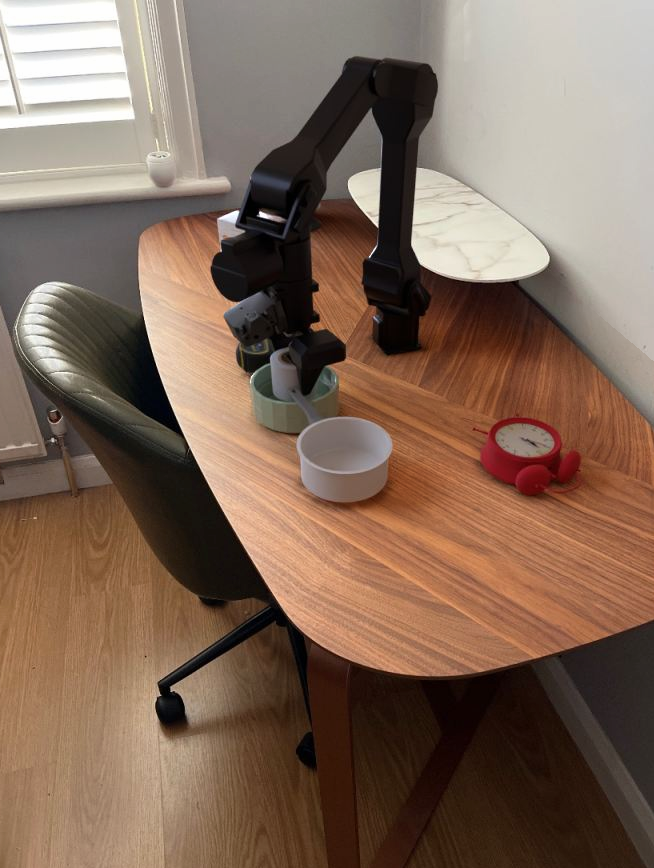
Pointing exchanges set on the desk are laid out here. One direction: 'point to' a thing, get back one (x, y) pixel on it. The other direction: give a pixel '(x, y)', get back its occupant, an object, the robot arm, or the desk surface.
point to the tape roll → (286, 376)
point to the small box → (228, 226)
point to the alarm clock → (528, 455)
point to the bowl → (290, 413)
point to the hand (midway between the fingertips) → (295, 383)
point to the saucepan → (341, 455)
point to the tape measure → (254, 356)
